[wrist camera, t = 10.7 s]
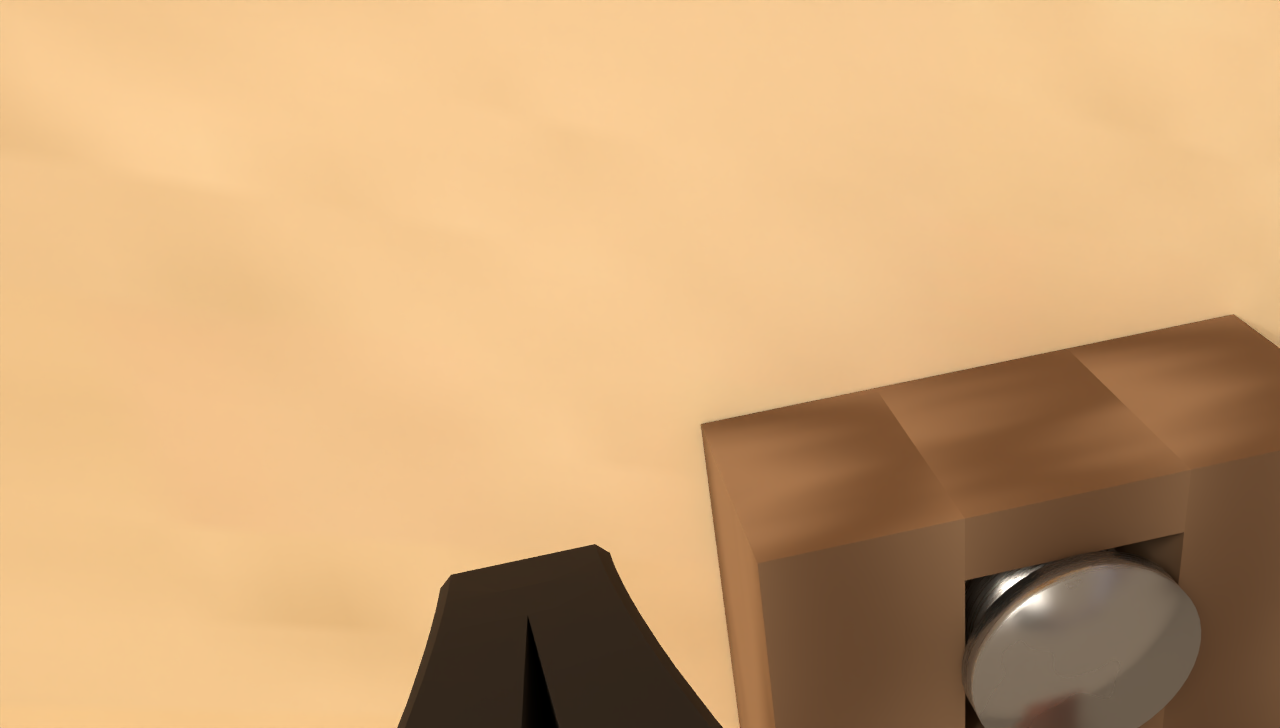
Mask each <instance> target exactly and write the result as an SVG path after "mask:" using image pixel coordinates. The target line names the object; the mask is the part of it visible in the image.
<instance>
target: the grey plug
mask: <svg viewBox="0 0 1280 728" xmlns="http://www.w3.org/2000/svg"><path fill="white" fill-rule="evenodd" d="M1200 642H1201V625H1200V618H1199V615H1198V612H1197V609H1196V607H1195V606H1194V604H1193V602H1192V600H1191V599H1190V598H1189V597H1188V595H1187V594H1186V593H1185V592H1184V591H1183V590H1182V589H1181V587H1180V586H1179V585H1178V584H1177V583H1176V582H1175V581H1174V579H1173V578H1172V577H1171V576H1170V575H1169V574H1168V573H1167V571H1165V570H1164V569H1163V568H1162V567H1160V566H1159V565H1158V564H1156V563H1154V562H1152V561H1150V560H1149V559H1146V558H1144V557H1141V556H1138V555H1135V554H1130V553H1124V552H1117V551H1116V550H1115V549H1114V548H1110V549H1106V550H1101V551H1097V552H1091V553H1085V554H1079V555H1075V556H1071V557H1068V558H1064V559H1060V560H1056V561H1051V562H1047V563H1042V564H1038V565H1033V566H1029V567H1024V568H1019V569H1015V570H1010V571H1006V572H1001V573H997V574H992V575H988V576H983V577H979V578H974V579H970V580H965V651H964V655H963V659H962V669H961V674H962V683H963V687H964V690H965V694H966V696H967V698H968V700H969V702H970V703H971V705H972V707H973V709H974V711H975V712H976V714H977V716H978V718H979V719H980V721H981V723H982V725H983V726H984V727H985V728H1138V727H1140V726H1141V725H1143V724H1144V723H1145V722H1147V721H1148V720H1150V719H1151V718H1152V717H1153V716H1154V715H1156V714H1157V713H1158V712H1159V711H1160V710H1162V709H1163V708H1164V707H1165V706H1166V705H1167V703H1168V702H1169V701H1170V700H1171V699H1172V698H1173V697H1174V696H1175V695H1176V693H1177V692H1178V691H1179V690H1180V688H1181V687H1182V685H1183V684H1184V682H1185V681H1186V679H1187V678H1188V676H1189V674H1190V672H1191V670H1192V668H1193V666H1194V664H1195V661H1196V658H1197V656H1198V652H1199V647H1200Z"/></svg>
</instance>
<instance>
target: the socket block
mask: <svg viewBox="0 0 1280 728" xmlns="http://www.w3.org/2000/svg"><path fill="white" fill-rule="evenodd" d="M701 429H702V437H703V445H704V452H705V460H706V468H707V475H708V483H709V491H710V499H711V506H712V514H713V522H714V530H715V537H716V545H717V553H718V561H719V568H720V576H721V584H722V591H723V599H724V607H725V615H726V622H727V630H728V638H729V646H730V653H731V661H732V669H733V677H734V684H735V692H736V700H737V708H738V715H739V723H740V728H985V727H984V726H983V725H982V723H981V721H980V719H979V718H978V716H977V714H976V712H975V711H974V709H973V707H972V705H971V703H970V702H969V700H968V698H967V696H966V694H965V690H964V687H963V683H962V674H961V669H962V659H963V655H964V651H965V580H970V579H974V578H979V577H983V576H988V575H992V574H997V573H1001V572H1006V571H1010V570H1015V569H1019V568H1024V567H1029V566H1033V565H1038V564H1042V563H1047V562H1051V561H1056V560H1060V559H1064V558H1068V557H1071V556H1075V555H1079V554H1085V553H1091V552H1097V551H1101V550H1106V549H1110V548H1114V549H1115V550H1116V551H1117V552H1124V553H1130V554H1135V555H1138V556H1141V557H1144V558H1146V559H1149V560H1150V561H1152V562H1154V563H1156V564H1158V565H1159V566H1160V567H1162V568H1163V569H1164V570H1165V571H1167V573H1168V574H1169V575H1170V576H1171V577H1172V578H1173V579H1174V581H1175V582H1176V583H1177V584H1178V585H1179V586H1180V587H1181V589H1182V590H1183V591H1184V592H1185V593H1186V594H1187V595H1188V597H1189V598H1190V599H1191V600H1192V602H1193V604H1194V606H1195V607H1196V609H1197V612H1198V615H1199V618H1200V625H1201V642H1200V647H1199V652H1198V656H1197V658H1196V661H1195V664H1194V666H1193V668H1192V670H1191V672H1190V674H1189V676H1188V678H1187V679H1186V681H1185V682H1184V684H1183V685H1182V687H1181V688H1180V690H1179V691H1178V692H1177V693H1176V695H1175V696H1174V697H1173V698H1172V699H1171V700H1170V701H1169V702H1168V703H1167V705H1166V706H1165V707H1164V708H1163V709H1162V710H1160V711H1159V712H1158V713H1157V714H1156V715H1154V716H1153V717H1152V718H1151V719H1150V720H1148V721H1147V722H1145V723H1144V724H1143V725H1141V726H1140V727H1138V728H1280V348H1278V347H1277V346H1276V345H1274V344H1273V343H1271V342H1270V341H1269V340H1267V339H1266V338H1265V337H1263V336H1262V335H1261V334H1259V333H1258V332H1257V331H1255V330H1254V329H1252V328H1251V327H1250V326H1248V325H1247V324H1246V323H1244V322H1243V321H1242V320H1240V319H1239V318H1238V317H1236V316H1235V315H1229V316H1224V317H1219V318H1214V319H1209V320H1205V321H1200V322H1195V323H1190V324H1185V325H1180V326H1175V327H1171V328H1166V329H1161V330H1156V331H1151V332H1146V333H1141V334H1137V335H1132V336H1127V337H1122V338H1117V339H1112V340H1107V341H1103V342H1098V343H1093V344H1088V345H1083V346H1078V347H1074V348H1069V349H1064V350H1059V351H1054V352H1049V353H1044V354H1040V355H1035V356H1030V357H1025V358H1020V359H1015V360H1010V361H1006V362H1001V363H996V364H991V365H986V366H981V367H976V368H972V369H967V370H962V371H957V372H952V373H947V374H942V375H938V376H933V377H928V378H923V379H918V380H913V381H908V382H904V383H899V384H894V385H889V386H884V387H879V388H874V389H870V390H865V391H860V392H855V393H850V394H845V395H840V396H836V397H831V398H826V399H821V400H816V401H811V402H807V403H802V404H797V405H792V406H787V407H782V408H777V409H773V410H768V411H763V412H758V413H753V414H748V415H743V416H739V417H734V418H729V419H724V420H719V421H714V422H709V423H705V424H701Z"/></svg>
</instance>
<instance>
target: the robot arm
mask: <svg viewBox="0 0 1280 728" xmlns="http://www.w3.org/2000/svg"><path fill="white" fill-rule="evenodd" d="M398 728H723V727H722V726H721V725H720V724H719V723H718V721H717V720H716V719H715V718H714V716H713V715H712V714H711V713H710V711H709V710H708V709H707V707H706V706H705V705H704V703H703V702H702V701H701V699H700V698H699V697H698V696H697V694H696V693H695V692H694V690H693V689H692V688H691V686H690V685H689V684H688V682H687V681H686V680H685V679H684V677H683V676H682V675H681V673H680V672H679V671H678V669H677V668H676V667H675V665H674V664H673V663H672V661H671V660H670V658H669V657H668V655H667V654H666V653H665V651H664V650H663V648H662V647H661V645H660V644H659V643H658V641H657V639H656V638H655V636H654V635H653V633H652V632H651V630H650V629H649V627H648V626H647V624H646V622H645V621H644V619H643V618H642V616H641V615H640V613H639V611H638V610H637V608H636V606H635V605H634V603H633V601H632V599H631V598H630V596H629V594H628V592H627V590H626V589H625V587H624V585H623V583H622V581H621V579H620V577H619V575H618V572H617V570H616V568H615V566H614V563H613V561H612V558H611V555H610V553H609V552H607V551H606V550H604V549H602V548H601V547H599V546H597V545H595V544H594V545H589V546H585V547H580V548H575V549H570V550H566V551H561V552H556V553H552V554H547V555H542V556H538V557H533V558H528V559H523V560H519V561H514V562H509V563H505V564H500V565H495V566H490V567H486V568H481V569H476V570H472V571H467V572H462V573H458V574H453V575H451V576H450V577H449V578H448V580H447V581H446V582H445V583H444V585H443V586H442V587H441V589H440V593H439V598H438V603H437V607H436V612H435V615H434V619H433V623H432V627H431V631H430V634H429V637H428V641H427V644H426V648H425V651H424V654H423V657H422V660H421V664H420V666H419V669H418V672H417V675H416V678H415V681H414V684H413V687H412V690H411V693H410V696H409V699H408V702H407V704H406V707H405V710H404V712H403V715H402V717H401V720H400V723H399V725H398Z"/></svg>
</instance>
